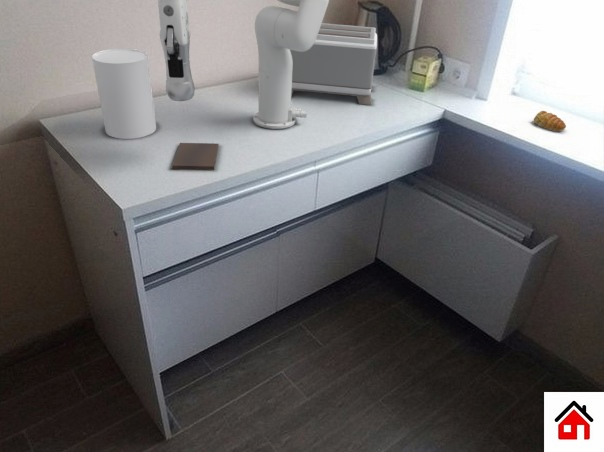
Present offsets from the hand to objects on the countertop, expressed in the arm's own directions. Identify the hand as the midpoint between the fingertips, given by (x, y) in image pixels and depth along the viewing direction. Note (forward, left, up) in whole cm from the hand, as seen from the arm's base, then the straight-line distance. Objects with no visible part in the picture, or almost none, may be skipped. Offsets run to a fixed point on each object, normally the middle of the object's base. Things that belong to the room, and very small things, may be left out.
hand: (178, 72), depth 113 cm
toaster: (-40, -53, -22) cm, 70 cm away
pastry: (-108, -27, -22) cm, 114 cm away
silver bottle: (0, 0, -7) cm, 7 cm away
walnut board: (-2, 0, -22) cm, 22 cm away
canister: (+18, -17, -22) cm, 33 cm away
